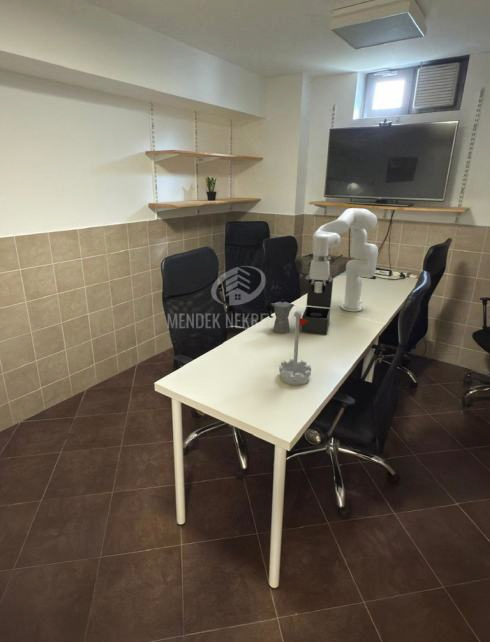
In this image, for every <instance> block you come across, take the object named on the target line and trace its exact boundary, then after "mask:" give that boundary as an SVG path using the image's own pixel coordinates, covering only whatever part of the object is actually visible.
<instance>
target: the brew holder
mask: <svg viewBox="0 0 490 642" xmlns="http://www.w3.org/2000/svg"><path fill="white" fill-rule="evenodd" d="M321 316H322V315H321V314H320V313H316V312H314V313H311V314H310V317H313V318H321Z"/></svg>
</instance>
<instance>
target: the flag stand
mask: <svg viewBox="0 0 490 642" xmlns="http://www.w3.org/2000/svg"><path fill="white" fill-rule="evenodd" d="M293 316H294V318H295V325H294V326H295V327H294V343H293V344H294V348H293V358H290V359H289V361H286V360H282V361H281V362H280V365H279V370H278V372H279V374H280V375H281V380H282V381H283V382H285V383H286V384H289V385H291V386H301V385H304V384H306V383H307V382H308V381H309V377H311V375H312V366H311V364H307V361H305V360H300V361H298V356H299V355H298V354H299V340H300V339H299V337H300V336H299V335H300V328H301V327H302V325H304V324H305V323H306V322H308V321H307V320H305V319H302V316H303V314H302V311H300V310H296V311H294V312H293Z"/></svg>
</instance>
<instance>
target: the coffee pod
mask: <svg viewBox="0 0 490 642" xmlns="http://www.w3.org/2000/svg"><path fill="white" fill-rule="evenodd" d="M322 288H323V282H315V286H314V292H316V293H322Z"/></svg>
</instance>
